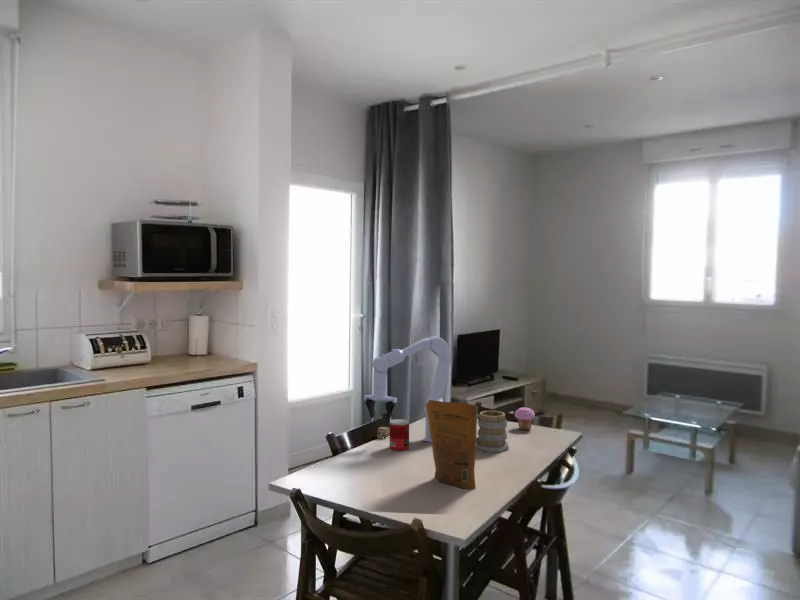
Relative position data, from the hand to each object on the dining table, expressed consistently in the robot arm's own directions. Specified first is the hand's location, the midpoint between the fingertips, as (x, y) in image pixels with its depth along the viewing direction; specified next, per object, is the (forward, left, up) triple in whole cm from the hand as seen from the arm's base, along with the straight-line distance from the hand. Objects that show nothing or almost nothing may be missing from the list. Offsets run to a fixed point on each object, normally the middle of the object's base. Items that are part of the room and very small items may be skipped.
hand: (380, 418), depth 233 cm
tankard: (-40, -13, -11) cm, 44 cm away
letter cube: (+3, -8, -10) cm, 14 cm away
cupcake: (-49, -48, -11) cm, 70 cm away
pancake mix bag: (-43, +31, -11) cm, 55 cm away
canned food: (-10, +3, -11) cm, 15 cm away
